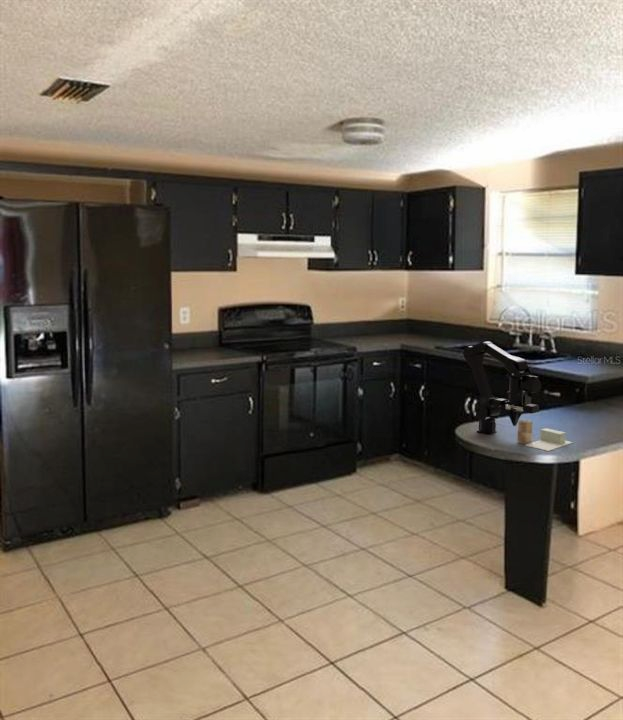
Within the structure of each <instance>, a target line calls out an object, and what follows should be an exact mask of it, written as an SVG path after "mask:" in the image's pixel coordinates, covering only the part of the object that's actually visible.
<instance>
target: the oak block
mask: <svg viewBox="0 0 623 720" xmlns="http://www.w3.org/2000/svg"><path fill="white" fill-rule="evenodd" d="M517 424H518V425H517V443H519V444H523V445H526V444H529V443H532V438H533V435H532V434H533V421H531V420H528V419H522V420H518V423H517Z"/></svg>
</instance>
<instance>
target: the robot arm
mask: <svg viewBox="0 0 623 720" xmlns="http://www.w3.org/2000/svg"><path fill="white" fill-rule="evenodd" d="M485 354H488V355H489V356H491V358H494V359H495V360H497V361H499V362H500V363H501V364H503V365H504V368H505V369H506V370H507V372H508V373H507V374H506V375H505V378H508V379H509V390H508V391H507V392H506V394H507V395H508V399H507V398H502V397H501V398H499V397H496V396H494V394H493V392H492V389H491V385H490V383H489V379H488V377H487V373H486V370H485V367H484V364H483V363H484V358H485ZM462 355H463V357H464V359H465V362H466V363H467V364H468V365H469V366H470V368H471V370H472V373H473V375H474V378H475V382H476V385H477V389H478V392H479V395H480V403H479V406H480V407H479V408H480V409H479V410H478V411H477V412H476V413H475V416H476V419H478V429H476V431H479V432H478V433H480V432H481V433H480V434H485V435H491V434H492V435H493V434H495V433H497V430H496V429H497V422H496V419H498V418H499V416H500V413H501V411H502V407H503V406H505V408H504V409H503V410H504V411H505V412H506V413H507V415H508V417H509V419H510V421H511V424H512V426H514V427H516V426H518V425H517V424H518V423H519V421H520V417H521V416H522V415H523V413H526V414H536V413H540V407H539V405H538V404H535V403H534V404H533V403H531V401H532V397H531V396H530V395H529V396H528V395H527V394H526V393H527V392H528V393H532V394H538V393H539V392H540V391H541V389H542V382H541V380H540V379H539V376H538V375H537V376H536V375H533V373H532V371H531V369H530V367H529V365H528V362H527V360H526V359H524V358H522V357H519V356H515V355H511V354H510V353H508V352H506V351H505V350H503V349H502V348H500V347H498V346H497V345H496V344H493V342H491V341H483V342H481V343H479V344H475V345H470V346H466V347H465V348H464V349H463V351H462Z"/></svg>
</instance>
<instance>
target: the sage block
mask: <svg viewBox="0 0 623 720" xmlns="http://www.w3.org/2000/svg"><path fill="white" fill-rule="evenodd" d="M566 433H567V432H564V431H560V430H556V429H552V428H547V427H546V428H545V427H544V428H542V429H540V437H539V440H542V439H543V440H547V441H551V442H555V443H563V442H565V441H566V435H567V434H566Z"/></svg>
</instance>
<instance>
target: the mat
mask: <svg viewBox="0 0 623 720" xmlns="http://www.w3.org/2000/svg"><path fill="white" fill-rule="evenodd" d="M573 443H574V442H573V441H569V440H565V442H563V443H555V442H551V441H547V440H543V439H539V440H536V441H533V442H532V441H531V443H529V444H524V446H525V447H530V448H534V449H537V450H542V451H546V452H550V451H552V450H553V451H554V450H556V449H559V448H562V447H565V446H569V445H571V444H573Z"/></svg>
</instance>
